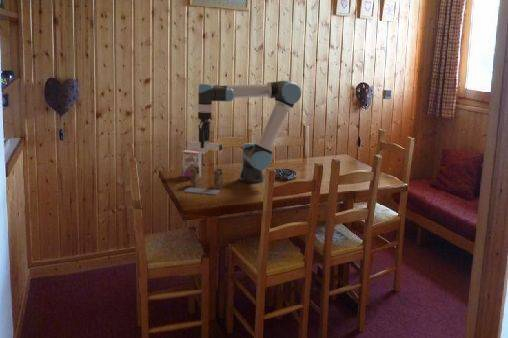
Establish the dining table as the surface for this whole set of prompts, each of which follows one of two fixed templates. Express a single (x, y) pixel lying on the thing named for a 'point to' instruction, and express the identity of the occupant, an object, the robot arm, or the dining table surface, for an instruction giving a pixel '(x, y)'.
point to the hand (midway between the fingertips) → (203, 152)
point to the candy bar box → (190, 162)
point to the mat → (202, 191)
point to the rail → (207, 145)
